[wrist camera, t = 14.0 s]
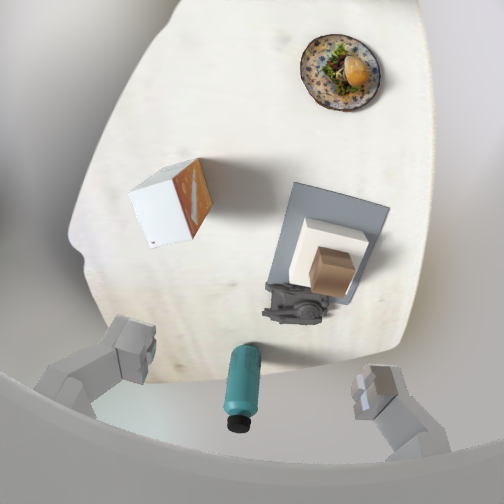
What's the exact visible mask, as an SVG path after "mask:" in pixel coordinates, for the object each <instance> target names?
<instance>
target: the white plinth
mask: <svg viewBox="0 0 504 504" xmlns="http://www.w3.org/2000/svg"><path fill="white" fill-rule="evenodd" d="M368 243H369V242H368V240H367V238H366V237H365V235H364V233H363V231H359V230H355V229H351V228H348V227H344V226H340V225H335V224H331V223H327V222H323V221H319V220H315V219H311V218H306V217H305V219H304V222H303V225H302V229H301V232H300V236H299V239H298V242H297V245H296V249H295V252H294V255H293V258H292V262H291V265H290V268H289V280H290V283H291V284H296V285H301V286H306V287H311V285H310V278H309V271H310V268H311V266H312V263H313V260H314V257H315V254H316V251H317V248H318V246H320V247H325V248H329V249H334V250H338V251H342V252H347V253H349V255H350V258H351V260H352V263H353V265H354V268H355V270H356V271H355V273H354V275H353V278H352V280H351V282H350V284H349V287H348V289H347V291H346V293H345V294H347V293H348V290H349V288H350V286H351V284H352V282H353V279H354V277H355V275H356V272H357V270H358V268H359V265H360V263H361V261H362V258H363V256H364V253H365V251H366V248H367V246H368Z"/></svg>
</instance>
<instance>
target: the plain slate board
mask: <svg viewBox="0 0 504 504" xmlns="http://www.w3.org/2000/svg"><path fill="white" fill-rule="evenodd" d="M388 209H389V208H388V207H385V206H381V205H378V204H375V203H371V202H368V201H365V200H361V199H358V198H354V197H350V196H347V195H343V194H339V193H336V192H332V191H328V190H324V189H320V188H316V187H312V186H308V185H304V184H300V183H296V182H294V185H293V188H292V192H291V196H290V200H289V204H288V207H287V211H286V215H285V219H284V222H283V226H282V230H281V234H280V237H279V241H278V245H277V248H276V252H275V256H274V259H273V263H272V266H271V270H270V274H269V277H268V281H267V284H274V283H278V284H280V283H282V284H283V283H284V282H286V283H288V282H290V280H289V268H290V265H291V262H292V258H293V255H294V252H295V249H296V245H297V242H298V239H299V236H300V232H301V229H302V225H303V222H304V219H305V217H306V218H311V219H315V220H319V221H323V222H327V223H331V224H335V225H340V226H344V227H348V228H351V229H355V230H359V231H363V233H364V235H365V237H366V238H367V240H368V242H369V243H368V246H367V248H366V251H365V253H364V256H363V258H362V261H361V263H360V265H359V268H358V270H357V272H356V275H355V277H354V279H353V282H352V284H351V286H350V288H349V290H348V293H347V294H345V296H344V298H339V297H333V296H329V302H333V303H339V304H344V305H348V303H349V301H350V299H351V297H352V295H353V293H354V291H355V288H356V286H357V284H358V282H359V280H360V277H361V275H362V273H363V271H364V268H365V266H366V264H367V261H368V259H369V257H370V254H371V252H372V249H373V247H374V245H375V242H376V240H377V237H378V235H379V232H380V230H381V227H382V224H383V222H384V219H385V217H386V214H387V211H388ZM265 290H267V288H266V289H265Z"/></svg>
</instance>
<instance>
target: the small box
mask: <svg viewBox="0 0 504 504" xmlns="http://www.w3.org/2000/svg"><path fill="white" fill-rule="evenodd" d="M129 196H130V199H131V202H132V205H133V208H134V210H135V213H136V216H137V219H138V222H139V224H140V226H141V229H142V231H143V233H144V235H145V238H146V240H147V242H148V245H149V247H150V249H153V248H157V247H161V246H165V245H170V244H174V243H179V242H183V241H188V240H193V238H194V236H195V235H196V233H197V231H198V229H199V227H200V226H201V224H202V222H203V220H204V219H205V217H206V215H207V214H208V212H209V210H210V208H211V207H212V205H213V203H212V200H211V197H210V194H209V191H208V188H207V185H206V182H205V178H204V175H203V172H202V168H201V165H200V161H199V158H195V159H192V160H188V161H185V162H181V163H178V164H174V165H171V166H168V167H165V168H162V169H161V170H159V171H158V172H156V173H155V174H153V175H152V176H150V177H149V178H148V179H146V180H145V181H143V182H142V183H141V184H139V185H138V186H136V187H135V188H133V189H132V190H130V191H129Z"/></svg>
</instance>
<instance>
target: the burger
mask: <svg viewBox="0 0 504 504" xmlns="http://www.w3.org/2000/svg"><path fill="white" fill-rule="evenodd" d="M300 74H301V79H302V81H303V83H304V84H305V86H306V88H307V90H308V92H309V94H310V95H311V96H312V97H313V98H314V99H315V102H317V103H318V104H319V105H321V106H323V107H325V108H327V109H330V108H331V109H334V110H338V111H341V110H342V111H343V112H348V111H352V110H355V109H358V108H360V107H362V106H364V105H366V104H367V103H368V102H370V101H371V100H372V99H373V98H374V96H375V94H376V93H377V90H378V88H379V85H380V78H381V75H380V68H379V65H378V62H377V60H376V58H375V56H374V55H373V53H372V52H371V51H370V50H369V49H368V48H367V47H366V46H365V45H364V44H363V43H362V42H360V41H358V40H356V39H354V38H352V37H349V36H346V35H341V34H329V35H325V36H320V37H318V38H316V39H314V40H313V41H311V42H310V43H309V45H308V46H307V48H306V49H305V51H304V52H303V55H302V58H301V62H300Z"/></svg>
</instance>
